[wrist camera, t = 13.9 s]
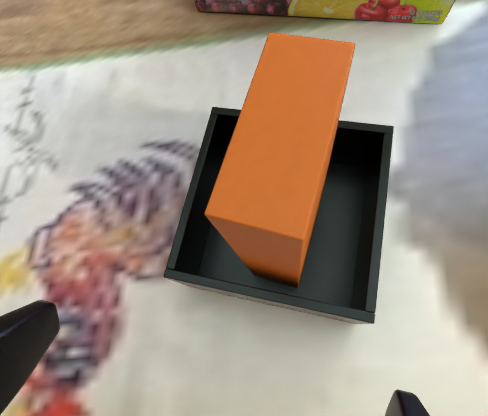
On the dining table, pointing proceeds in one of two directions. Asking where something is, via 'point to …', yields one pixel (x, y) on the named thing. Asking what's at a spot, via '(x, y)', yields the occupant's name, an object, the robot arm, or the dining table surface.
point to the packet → (281, 154)
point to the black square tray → (323, 235)
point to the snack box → (338, 9)
